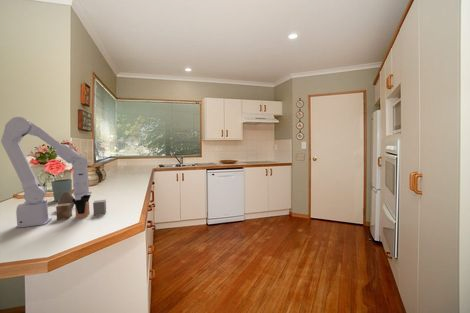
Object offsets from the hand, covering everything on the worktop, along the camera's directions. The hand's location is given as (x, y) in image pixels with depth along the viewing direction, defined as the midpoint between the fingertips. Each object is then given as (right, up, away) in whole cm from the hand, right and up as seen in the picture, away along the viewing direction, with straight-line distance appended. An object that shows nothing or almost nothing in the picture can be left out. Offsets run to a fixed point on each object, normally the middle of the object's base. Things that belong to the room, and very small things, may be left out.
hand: (82, 212), depth 106 cm
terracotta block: (0, -2, 0) cm, 2 cm away
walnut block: (-6, -2, -2) cm, 7 cm away
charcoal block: (+7, -1, +3) cm, 7 cm away
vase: (-16, -2, +12) cm, 20 cm away
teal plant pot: (-35, -1, +34) cm, 48 cm away
